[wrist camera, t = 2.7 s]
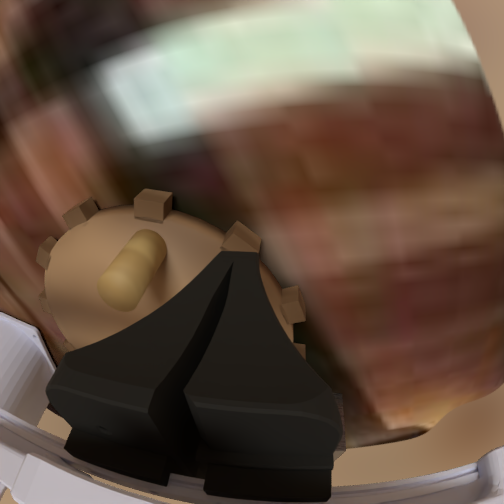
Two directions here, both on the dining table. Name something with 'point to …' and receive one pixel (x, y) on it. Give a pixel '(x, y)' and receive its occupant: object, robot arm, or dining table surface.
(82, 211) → the sprocket
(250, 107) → the dining table surface
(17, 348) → the robot arm
